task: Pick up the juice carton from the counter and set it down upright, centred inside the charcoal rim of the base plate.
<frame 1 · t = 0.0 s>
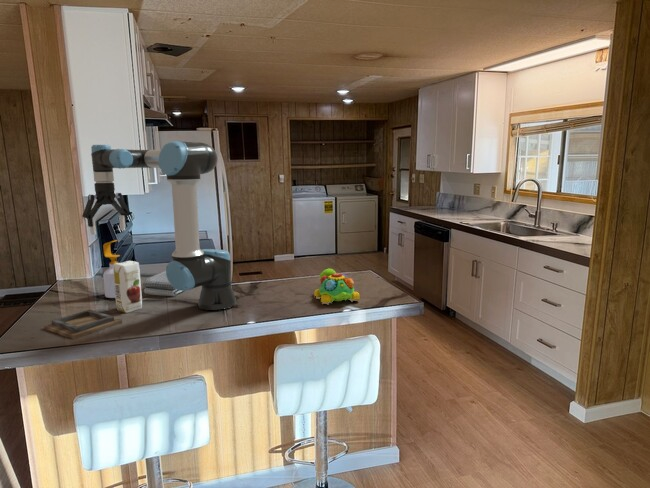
hand: (108, 232, 193), 28 cm above the table, tool pointing down, fingers open, 13 cm apart
juice carton: (129, 309, 179), on the table
base plate: (83, 325, 161), on the table
towel: (169, 291, 205), on the table
turtle toy: (334, 299, 193), on the table
soap bottle: (116, 295, 198), on the table
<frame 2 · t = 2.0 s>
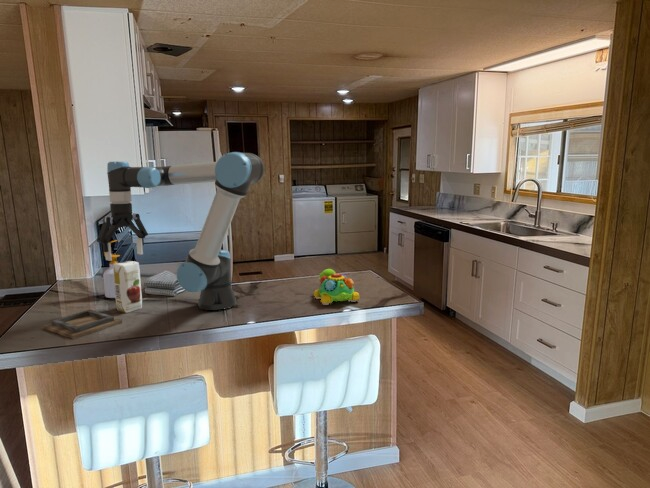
hand: (124, 257, 175), 21 cm above the table, tool pointing down, fingers open, 13 cm apart
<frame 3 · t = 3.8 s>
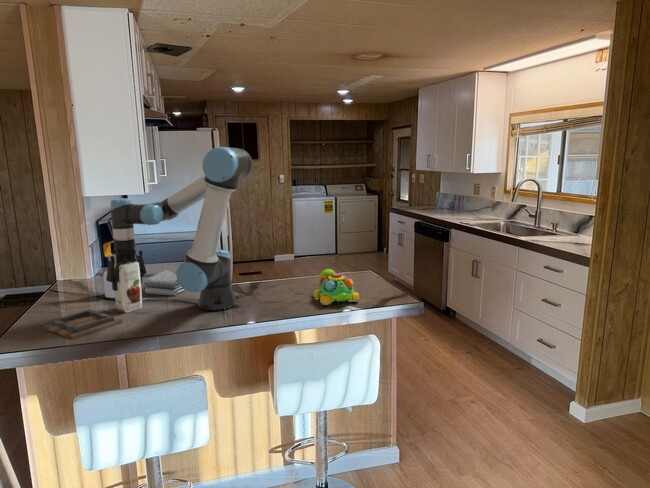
hand: (128, 295, 178), 6 cm above the table, tool pointing down, fingers closed on juice carton, 9 cm apart
juice carton: (129, 309, 179), on the table, touching gripper
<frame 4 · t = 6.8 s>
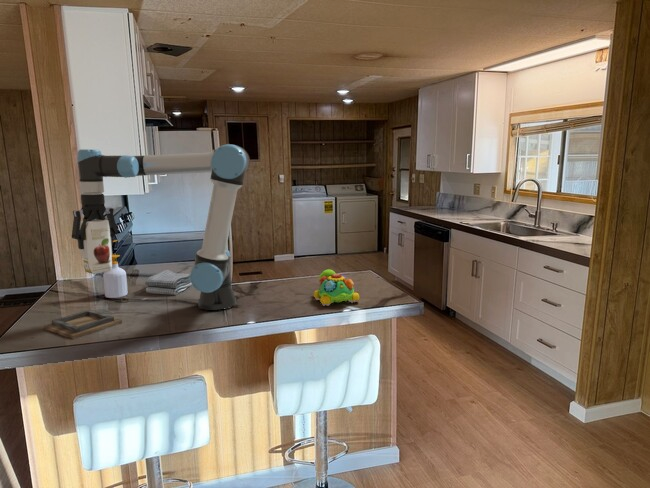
hand: (97, 255, 164), 24 cm above the table, tool pointing down, fingers closed on juice carton, 9 cm apart
juice carton: (98, 271, 166), point 18 cm above the table, touching gripper
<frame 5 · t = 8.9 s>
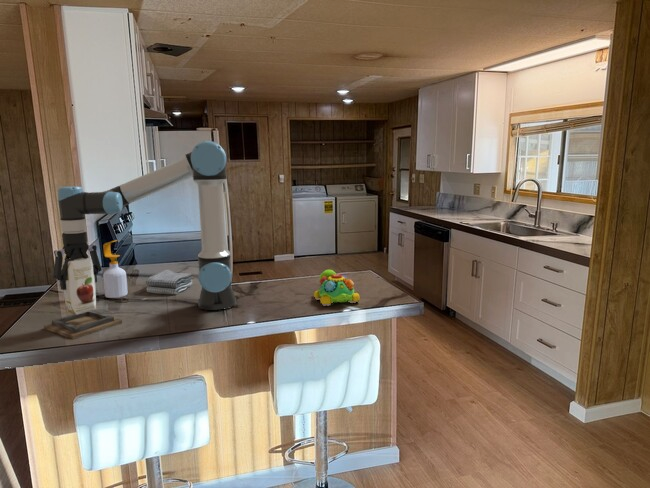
hand: (80, 295, 159), 11 cm above the table, tool pointing down, fingers closed on juice carton, 9 cm apart
juice carton: (81, 311, 160), point 5 cm above the table, touching gripper
when the fingers open (8 cm above the table, at t = 9.9 s): juice carton drops 1 cm, resting on base plate.
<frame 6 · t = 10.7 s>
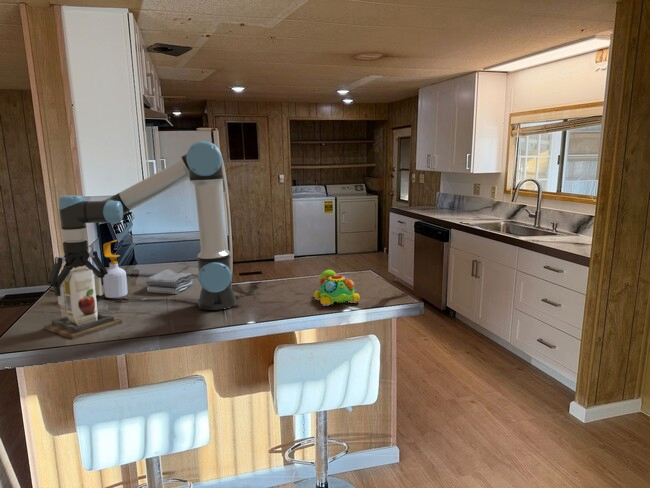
hand: (81, 299, 159), 10 cm above the table, tool pointing down, fingers open, 13 cm apart
juice carton: (83, 322, 161), point 1 cm above the table, touching base plate
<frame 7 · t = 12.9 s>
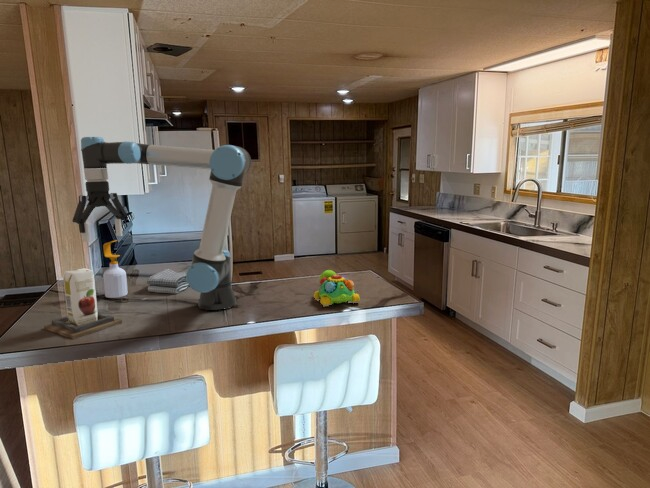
hand: (103, 238, 166), 30 cm above the table, tool pointing down, fingers open, 13 cm apart
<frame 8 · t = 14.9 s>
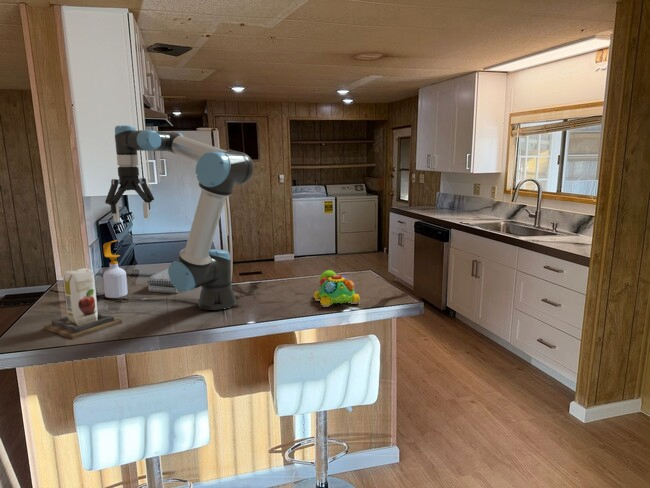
hand: (132, 220, 181), 35 cm above the table, tool pointing down, fingers open, 13 cm apart
at the end: juice carton 0.0 cm off-centre on the base plate, point 1.0 cm above the base plate's base; juice carton tilted 0°; the gripper is holding nothing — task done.
